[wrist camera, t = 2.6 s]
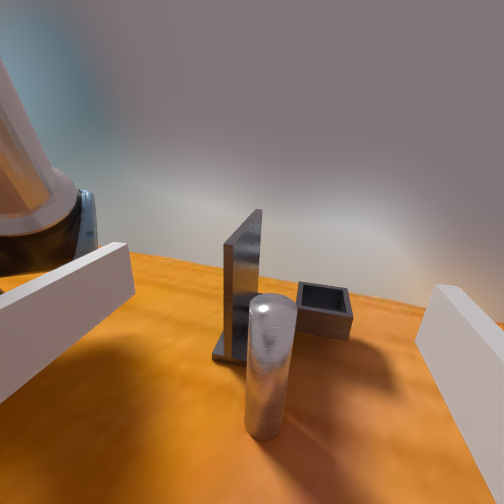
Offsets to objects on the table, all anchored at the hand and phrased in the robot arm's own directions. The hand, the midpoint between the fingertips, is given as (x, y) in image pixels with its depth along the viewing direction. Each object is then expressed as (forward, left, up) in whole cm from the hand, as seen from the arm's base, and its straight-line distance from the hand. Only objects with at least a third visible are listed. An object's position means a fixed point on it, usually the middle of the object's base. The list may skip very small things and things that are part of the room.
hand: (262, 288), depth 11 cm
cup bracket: (0, +26, -24) cm, 36 cm away
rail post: (-1, +10, -24) cm, 26 cm away
